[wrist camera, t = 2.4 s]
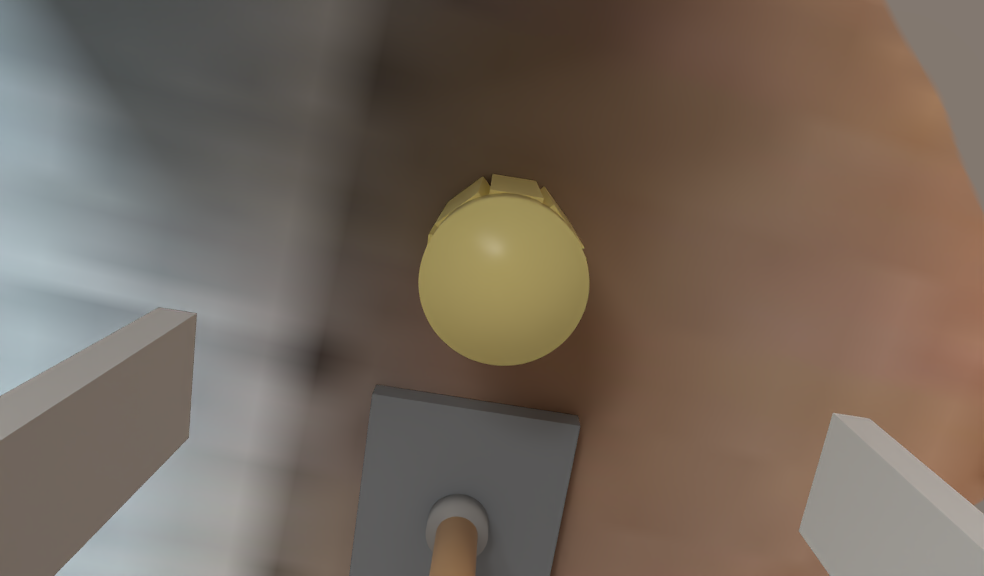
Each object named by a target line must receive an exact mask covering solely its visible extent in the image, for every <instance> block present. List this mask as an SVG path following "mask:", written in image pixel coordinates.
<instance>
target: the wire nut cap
mask: <svg viewBox="0 0 984 576" xmlns="http://www.w3.org/2000/svg"><path fill="white" fill-rule="evenodd" d="M582 249H584V246H583V244H582V243H581V241H580V239H579V237H578V236H577V234H576V232H575V230H574V229H573V227H572V225H571V223H570V222H569V220H568V219H567V217H566V216H565V215H564V213H563V212H562V210H561V209H560V207H559V206H558V205H557V203H556V202H555V200H554V199H553V198H552V196H551V195H550V193H549V192H548V190H547V189H546V188H545V186H544V187H542V188H541V189H539V186H538V184H537V182H536V181H534V180H528V179H522V178H515V177H509V176H503V175H497V174H493V175H492V181H491V186H490V185H489V184H488V182H487V181H486V180H485V178H484V177H481V178H480V179H478V180H477V181H476V182H474V183H473V184H472V185H470V186H469V187H468V188H466V189H465V190H463V191H462V192H461V193H459V194H458V195H457V196H455V197H454V198H452V199H451V200H450V201H448V202H447V204H446V206H445V208H444V209H443V211H442V213H441V214H440V216H439V218H438V219H437V221H436V223H435V224H434V226H433V228H432V229H431V231H430V233H429V236H428V243H427V248H426V250H425V252H424V255H423V258H422V260H421V265H420V270H419V280H418V285H419V296H420V301H421V305H422V308H423V311H424V314H425V316H426V318H427V320H428V322H429V324H430V325H431V327H432V328H433V330H434V331H435V333H436V334H437V335H438V336H439V337H440V338H441V339H442V341H444V342H445V343H446V344H447V345H448V346H449V347H450V348H452V349H453V350H455V351H456V352H458V353H459V354H461V355H463V356H465V357H467V358H469V359H471V360H474V361H477V362H480V363H484V364H489V365H498V366H511V365H518V364H524V363H527V362H531V361H534V360H536V359H539V358H541V357H543V356H545V355H547V354H548V353H550V352H552V351H553V350H555V349H556V348H557V347H559V346H560V345H561V344H562V343H563V342H564V341H565V340H566V339H567V338H568V337H569V336H570V335H571V333H572V332H573V331H574V330H575V328H576V327H577V325H578V323H579V321H580V320H581V318H582V315H583V313H584V311H585V308H586V304H587V300H588V295H589V271H588V265H587V258H586V257H585V255H584V252H583V250H582Z"/></svg>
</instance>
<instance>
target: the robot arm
mask: <svg viewBox="0 0 984 576" xmlns="http://www.w3.org/2000/svg"><path fill="white" fill-rule="evenodd" d="M196 317H197V313H192V312H185V311H179V310H173V309H166V308H160V307H159V308H157V309H155V310H153V311H151V312H150V313H148V314H146V315H144V316H143V317H141V318H139V319H137V320H135V321H134V322H132V323H130V324H128V325H126V326H125V327H123V328H121V329H119V330H117V331H116V332H114V333H112V334H110V335H109V336H107V337H105V338H103V339H101V340H100V341H98V342H96V343H94V344H92V345H91V346H89V347H87V348H85V349H84V350H82V351H80V352H78V353H76V354H75V355H73V356H71V357H69V358H67V359H66V360H64V361H62V362H60V363H59V364H57V365H55V366H53V367H51V368H50V369H48V370H46V371H44V372H42V373H41V374H39V375H37V376H35V377H34V378H32V379H30V380H28V381H26V382H25V383H23V384H21V385H19V386H17V387H16V388H14V389H12V390H10V391H9V392H7V393H5V394H3V395H1V396H0V576H54V575H55V574H56V573H57V572H58V571H59V570H60V569H61V568H62V567H63V566H64V565H65V564H66V563H67V562H68V561H69V560H70V559H71V558H72V557H73V556H74V555H75V554H76V553H77V552H78V551H79V550H80V549H81V548H82V547H83V546H84V545H85V544H86V542H87V541H88V540H89V539H90V538H91V537H92V536H93V535H94V534H95V533H96V532H97V531H98V530H99V529H100V528H101V527H102V526H103V525H104V524H105V523H106V522H107V521H108V520H109V519H110V518H111V517H112V516H113V515H114V514H115V513H116V512H117V511H118V510H119V509H120V508H121V507H122V506H123V505H124V504H125V503H126V501H127V500H128V499H129V498H130V497H131V496H132V495H133V494H134V493H135V492H136V491H137V490H138V489H139V488H140V487H141V486H142V485H143V484H144V483H145V482H146V481H147V480H148V479H149V478H150V477H151V476H152V475H153V474H154V473H155V472H156V471H157V470H158V469H159V468H160V467H161V466H162V465H163V464H164V463H165V462H166V461H167V459H168V458H169V457H170V456H171V455H172V454H173V453H174V452H175V451H176V450H177V449H178V448H179V447H180V446H181V445H182V444H183V443H184V442H185V441H186V440H187V439H188V438H189V425H190V409H191V394H192V378H193V363H194V347H195V332H196ZM799 532H800V534H801V535H802V536H803V538H804V539H805V541H806V542H807V544H808V545H809V546H810V548H811V549H812V551H813V552H814V554H815V555H816V556H817V558H818V559H819V561H820V562H821V563H822V565H823V566H824V568H825V569H826V571H827V572H828V573H829V575H830V576H984V514H983V513H982V512H981V511H979V510H978V509H977V508H976V507H975V506H973V505H972V504H971V503H970V502H969V501H967V500H966V499H965V498H964V497H963V496H962V495H960V494H959V493H958V492H957V491H956V490H954V489H953V488H952V487H951V486H950V485H948V484H947V483H946V482H945V481H944V480H942V479H941V478H940V477H939V476H938V475H936V474H935V473H934V472H933V471H932V470H930V469H929V468H928V467H927V466H926V465H924V464H923V463H922V462H921V461H920V460H918V459H917V458H916V457H915V456H914V455H913V454H911V453H910V452H909V451H908V450H907V449H905V448H904V447H903V446H902V445H901V444H899V443H898V442H897V441H896V440H895V439H893V438H892V437H891V436H890V435H889V434H887V433H886V432H885V431H884V430H883V429H881V428H880V427H879V426H878V425H877V424H875V423H874V422H873V421H872V420H871V419H869V418H863V417H856V416H850V415H844V414H837V413H833V415H832V418H831V422H830V425H829V429H828V432H827V436H826V439H825V442H824V446H823V449H822V453H821V456H820V460H819V463H818V467H817V470H816V473H815V477H814V480H813V484H812V487H811V491H810V494H809V498H808V501H807V504H806V508H805V511H804V515H803V518H802V522H801V525H800V529H799Z"/></svg>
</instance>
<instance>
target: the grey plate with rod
mask: <svg viewBox="0 0 984 576" xmlns="http://www.w3.org/2000/svg"><path fill="white" fill-rule="evenodd" d="M579 430H580V422H579V418H578V416H577V415H570V414H564V413H558V412H551V411H545V410H538V409H532V408H525V407H519V406H512V405H506V404H499V403H493V402H486V401H480V400H473V399H467V398H460V397H454V396H447V395H441V394H434V393H428V392H421V391H415V390H408V389H402V388H395V387H389V386H382V385H376V387H375V389H374V391H373V394H372V401H371V408H370V416H369V424H368V432H367V440H366V448H365V456H364V464H363V472H362V479H361V487H360V495H359V503H358V511H357V519H356V527H355V535H354V543H353V550H352V558H351V566H350V574H349V576H550V572H551V568H552V563H553V558H554V553H555V548H556V543H557V538H558V533H559V528H560V523H561V519H562V514H563V509H564V504H565V499H566V494H567V489H568V484H569V479H570V474H571V470H572V465H573V460H574V455H575V450H576V445H577V440H578V435H579Z"/></svg>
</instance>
